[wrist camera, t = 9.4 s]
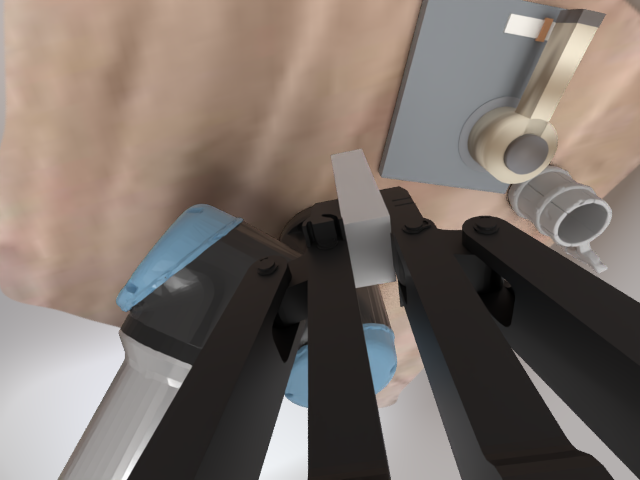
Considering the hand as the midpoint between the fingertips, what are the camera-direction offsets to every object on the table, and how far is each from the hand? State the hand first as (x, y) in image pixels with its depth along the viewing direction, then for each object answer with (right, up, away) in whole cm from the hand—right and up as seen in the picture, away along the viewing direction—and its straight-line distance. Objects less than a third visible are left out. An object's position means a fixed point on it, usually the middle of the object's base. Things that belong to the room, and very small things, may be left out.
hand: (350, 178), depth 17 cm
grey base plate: (+16, +13, +23) cm, 31 cm away
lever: (+20, +13, +21) cm, 32 cm away
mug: (+29, +3, +31) cm, 43 cm away
